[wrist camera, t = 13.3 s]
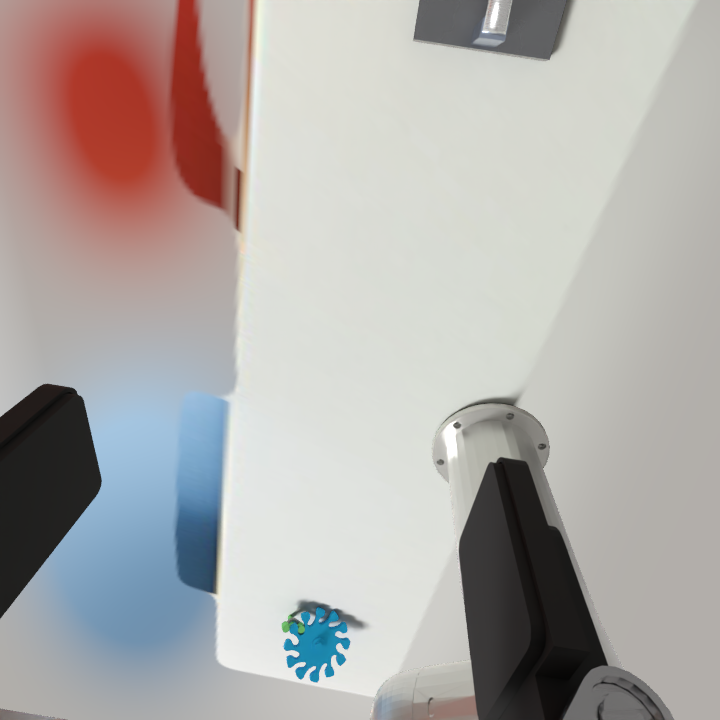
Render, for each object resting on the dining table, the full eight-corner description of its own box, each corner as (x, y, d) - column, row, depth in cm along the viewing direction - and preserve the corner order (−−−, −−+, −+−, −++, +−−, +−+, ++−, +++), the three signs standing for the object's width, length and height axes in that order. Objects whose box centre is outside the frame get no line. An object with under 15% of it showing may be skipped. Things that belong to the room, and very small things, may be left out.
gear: (363, 632, 69) (325, 698, 66) (353, 618, 74) (318, 678, 71) (305, 593, 68) (264, 658, 65) (300, 581, 73) (262, 640, 70)
